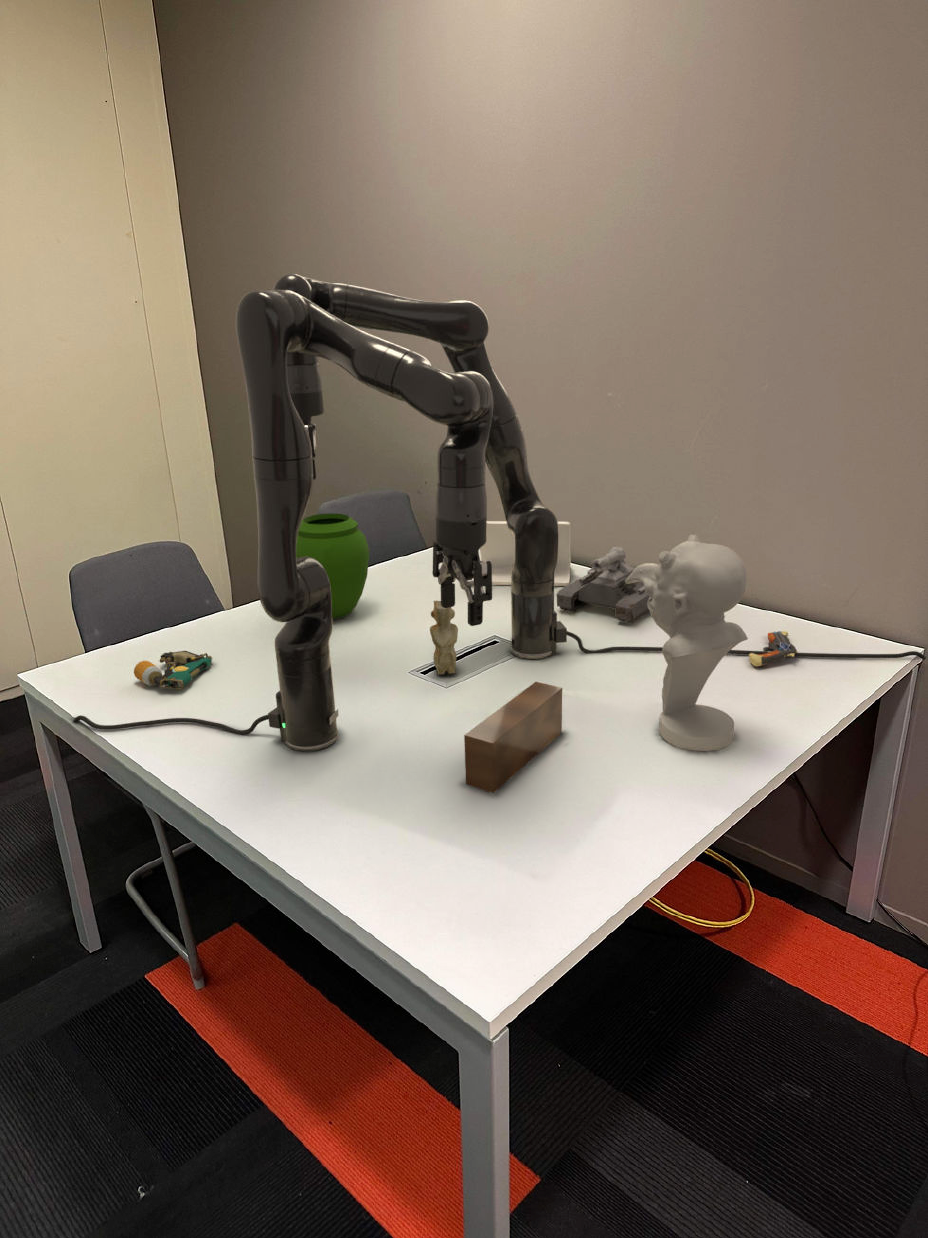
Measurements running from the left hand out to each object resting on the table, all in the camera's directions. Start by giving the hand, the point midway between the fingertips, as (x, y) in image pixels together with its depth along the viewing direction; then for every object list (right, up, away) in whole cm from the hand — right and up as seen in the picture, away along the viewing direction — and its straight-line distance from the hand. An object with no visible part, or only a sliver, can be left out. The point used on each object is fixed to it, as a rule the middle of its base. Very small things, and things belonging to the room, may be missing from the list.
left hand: (461, 615), depth 132 cm
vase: (-32, +1, +82) cm, 88 cm away
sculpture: (-3, -12, +48) cm, 49 cm away
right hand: (-29, +27, +33) cm, 52 cm away
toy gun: (+66, -8, +52) cm, 85 cm away
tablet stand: (+18, +12, +107) cm, 109 cm away
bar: (+9, -24, +13) cm, 29 cm away
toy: (+39, +3, +83) cm, 91 cm away
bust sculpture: (+38, -20, +21) cm, 48 cm away
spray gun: (-60, -13, +49) cm, 79 cm away
